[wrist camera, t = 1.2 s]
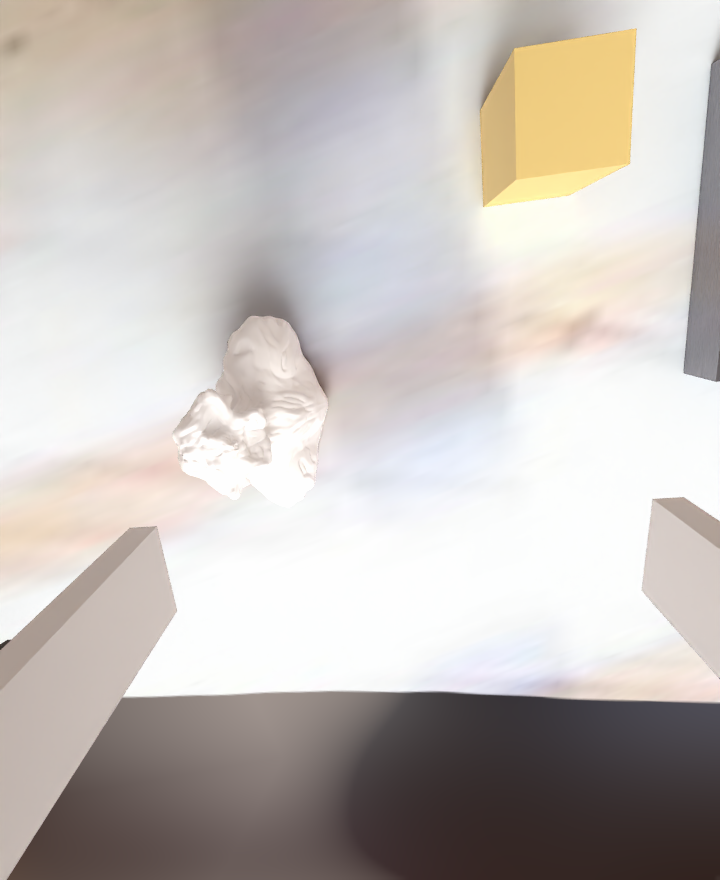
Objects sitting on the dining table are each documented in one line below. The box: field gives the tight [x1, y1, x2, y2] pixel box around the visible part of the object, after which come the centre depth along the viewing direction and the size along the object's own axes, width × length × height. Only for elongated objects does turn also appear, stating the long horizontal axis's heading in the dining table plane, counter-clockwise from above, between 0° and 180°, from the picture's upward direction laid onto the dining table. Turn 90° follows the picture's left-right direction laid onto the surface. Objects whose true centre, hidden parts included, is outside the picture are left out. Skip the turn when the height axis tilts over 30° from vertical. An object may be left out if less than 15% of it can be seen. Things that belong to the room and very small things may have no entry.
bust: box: [172, 316, 328, 507], centre depth 27 cm, size 12×8×11 cm
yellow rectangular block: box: [480, 29, 636, 207], centre depth 23 cm, size 5×5×7 cm
